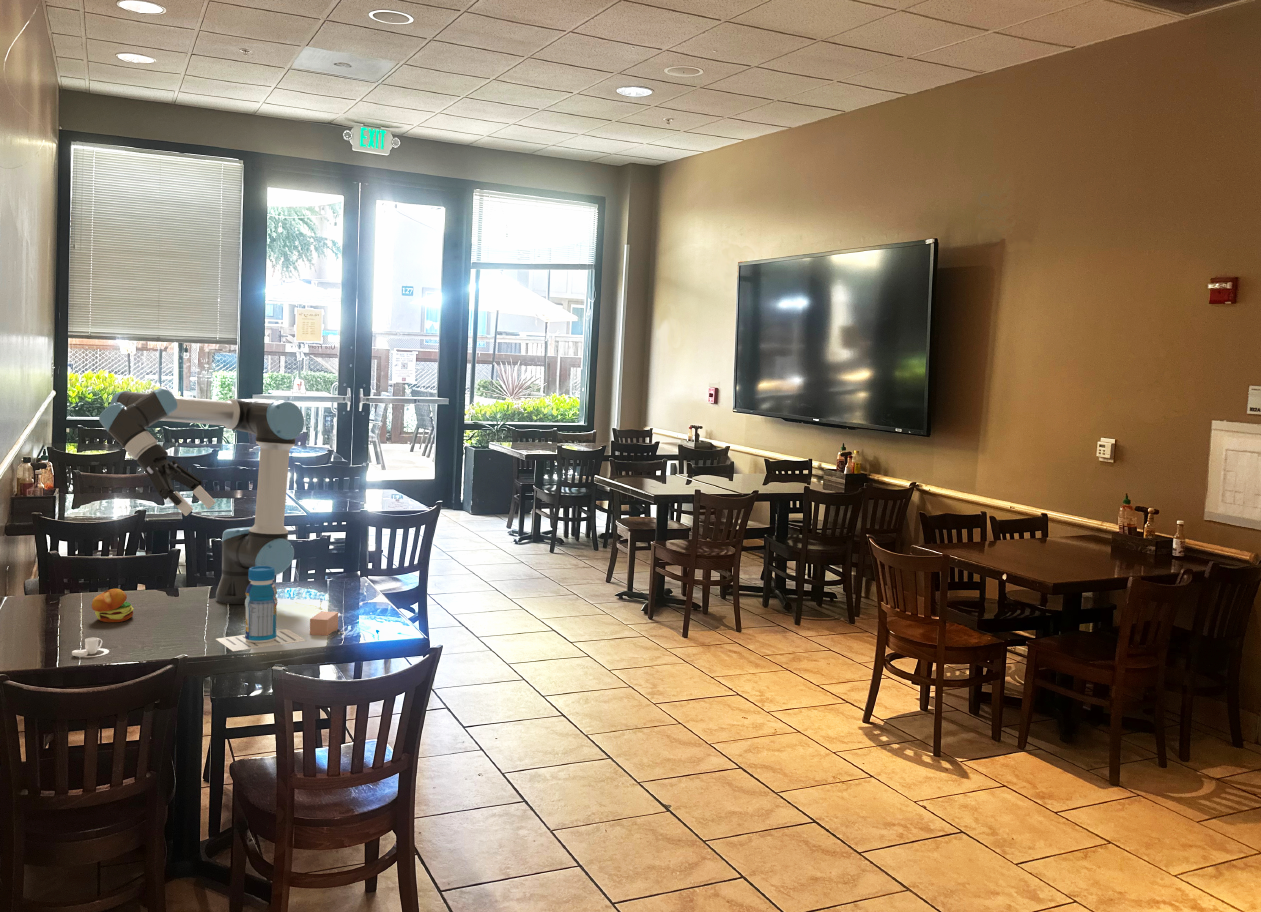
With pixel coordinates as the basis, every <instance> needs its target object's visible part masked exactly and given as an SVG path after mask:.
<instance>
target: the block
mask: <svg viewBox="0 0 1261 912" xmlns="http://www.w3.org/2000/svg"><path fill="white" fill-rule="evenodd" d="M338 629H339V612H338V611H324V610H323V611H320V612H318V613H317V614H316V615H314V616H312V617H311V618H309V635H311V636H329V635H330V634H331V633H332V632H333V633H334V632H336V631H337V630H338Z"/></svg>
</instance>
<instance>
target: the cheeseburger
mask: <svg viewBox="0 0 1261 912" xmlns="http://www.w3.org/2000/svg"><path fill="white" fill-rule="evenodd" d="M127 598H128V597H127V593H126V592H125V591H123V590H122V589H120V588H111V589H107V590H105V591H103V592H102V593H100V594H98V595H96V596H95V597H94V598H93V599H92V602H91V609H92V610H93V611H94V613H95V616H96V618H97V619H98V620H99V621H100V622H104V623H121V622H126V621H127V620H129V619H130V618H132V617H133V616H134V610H135V608H134V607H133V606H132V605H133V604H132V603H131V602H128V601H127Z"/></svg>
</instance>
